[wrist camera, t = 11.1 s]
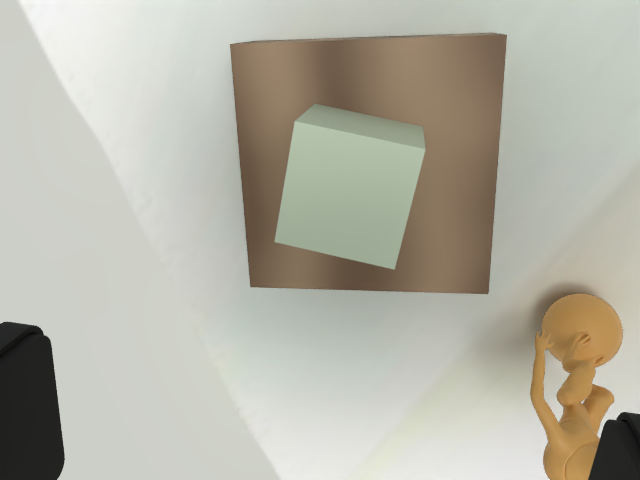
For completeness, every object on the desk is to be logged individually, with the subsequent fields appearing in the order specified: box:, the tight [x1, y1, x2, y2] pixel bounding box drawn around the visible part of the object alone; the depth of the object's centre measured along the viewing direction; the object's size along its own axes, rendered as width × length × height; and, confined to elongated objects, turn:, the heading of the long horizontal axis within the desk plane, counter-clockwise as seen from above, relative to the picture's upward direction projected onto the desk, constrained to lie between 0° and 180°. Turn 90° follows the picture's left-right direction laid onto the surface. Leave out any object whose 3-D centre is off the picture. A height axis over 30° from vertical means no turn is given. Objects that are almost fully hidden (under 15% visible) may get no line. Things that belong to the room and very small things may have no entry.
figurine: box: [530, 294, 623, 480], centre depth 28 cm, size 8×6×12 cm
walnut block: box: [230, 33, 507, 294], centre depth 30 cm, size 12×12×5 cm
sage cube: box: [275, 104, 426, 270], centre depth 25 cm, size 5×5×5 cm
